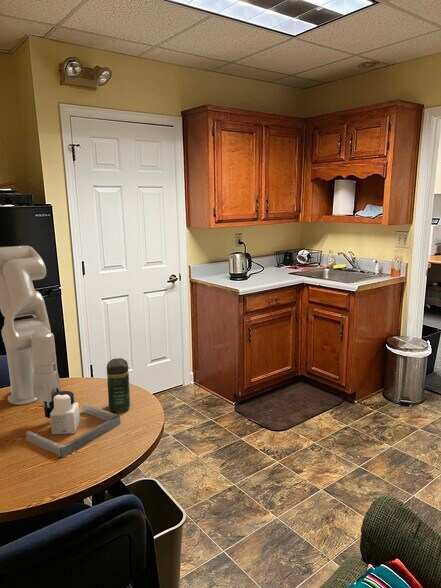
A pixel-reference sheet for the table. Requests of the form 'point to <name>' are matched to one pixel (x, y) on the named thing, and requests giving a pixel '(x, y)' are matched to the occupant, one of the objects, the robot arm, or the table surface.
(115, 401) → the coffee jar
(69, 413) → the container
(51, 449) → the bracket
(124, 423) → the table surface
